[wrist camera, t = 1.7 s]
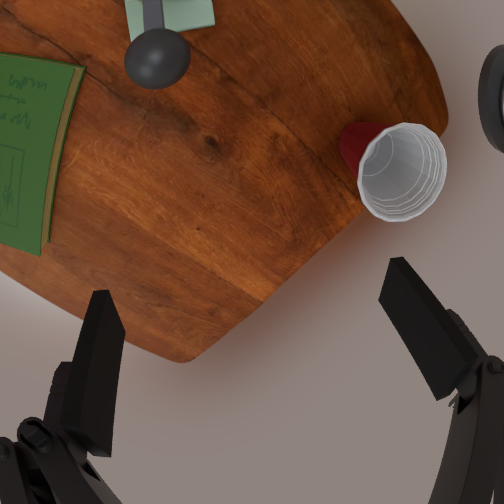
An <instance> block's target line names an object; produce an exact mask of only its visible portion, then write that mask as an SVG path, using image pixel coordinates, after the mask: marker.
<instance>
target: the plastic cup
mask: <svg viewBox="0 0 504 504" xmlns="http://www.w3.org/2000/svg"><path fill="white" fill-rule="evenodd" d="M338 147H339V150H340V153H341V156H342V158H343V159H344V161H345V162H346V163H347V166H348V167H349V169H350V170H351V172H352V174H353V175H354V177H355V178H356V180H357V184H358V188H359V191H360V195H361V198H362V202H363V204H364V205H365V206H366V207H367V208H368V209H369V211H370V212H371V213H372V214H373V215H374V216H376V217H379V218H381V219H383V220H386V221H388V222H394V221H406V220H409V219H411V218H413V217H416V216H418V215H420V214H422V213H423V212H424V211H425V210H426V209H427V208H428V207H429V206H430V205H431V204H432V203H434V202H435V200H436V198H437V196H438V195H439V193H440V191H441V189H442V188H443V186H444V182H445V177H446V171H447V161H446V153H445V149H444V147H443V145H442V143H441V142H440V140H439V138H438V136H437V135H436V134H435V133H434V132H432V131H431V130H429V129H428V128H426V127H425V126H423V125H421V124H412V123H400V124H397V125H389V124H382V123H371V122H355V123H352V124H350V125H348V126H347V127H346V128H345V129H344V130H343V131H342V133H341V135H340V137H339V144H338Z"/></svg>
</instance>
